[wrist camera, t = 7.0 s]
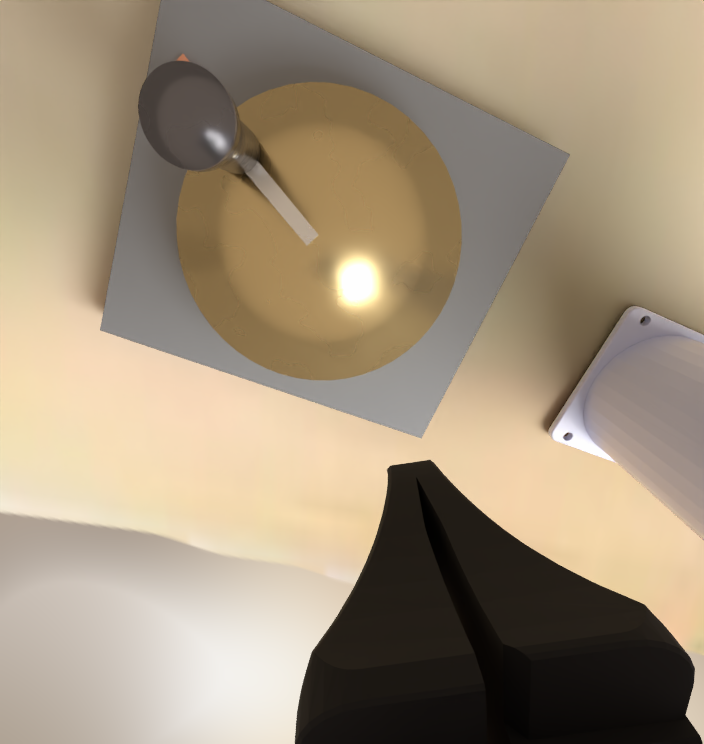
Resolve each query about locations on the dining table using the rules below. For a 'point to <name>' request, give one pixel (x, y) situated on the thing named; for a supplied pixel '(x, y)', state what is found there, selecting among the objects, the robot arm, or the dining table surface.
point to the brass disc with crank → (306, 219)
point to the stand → (401, 89)
